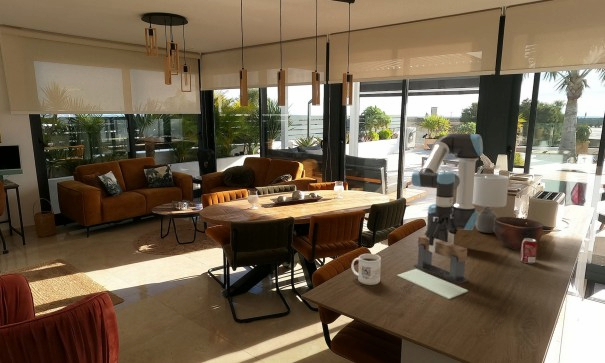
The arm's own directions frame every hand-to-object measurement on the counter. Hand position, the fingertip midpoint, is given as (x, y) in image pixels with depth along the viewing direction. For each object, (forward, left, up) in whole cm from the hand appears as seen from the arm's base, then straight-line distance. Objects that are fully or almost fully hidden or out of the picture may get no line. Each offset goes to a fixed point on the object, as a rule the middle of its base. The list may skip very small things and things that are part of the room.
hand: (441, 249), depth 180 cm
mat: (+5, -13, -12) cm, 18 cm away
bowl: (0, +69, -12) cm, 70 cm away
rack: (0, 0, -12) cm, 12 cm away
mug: (-14, -34, -12) cm, 39 cm away
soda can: (+16, +50, -12) cm, 54 cm away
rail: (0, 0, -2) cm, 2 cm away
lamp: (-26, +82, -12) cm, 87 cm away
